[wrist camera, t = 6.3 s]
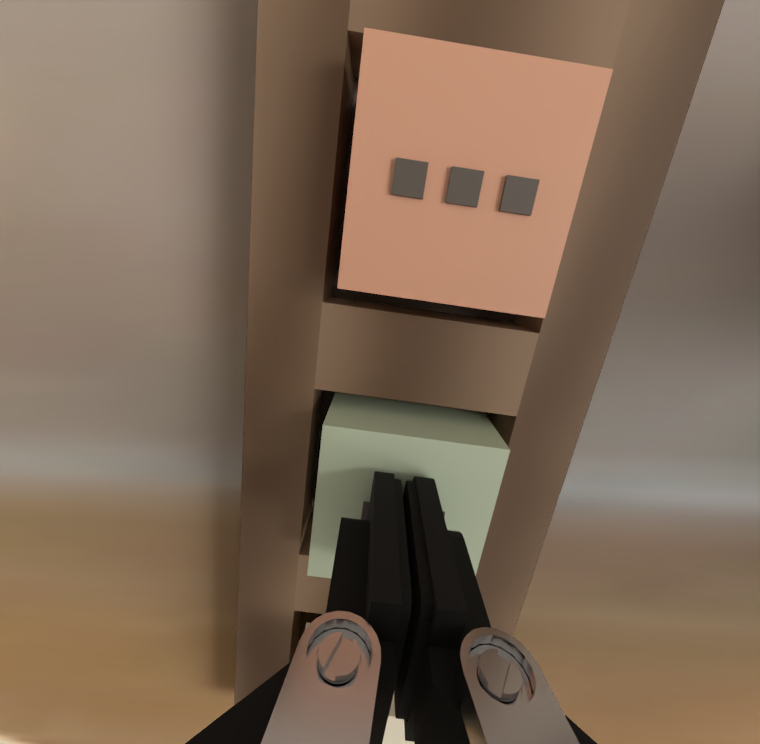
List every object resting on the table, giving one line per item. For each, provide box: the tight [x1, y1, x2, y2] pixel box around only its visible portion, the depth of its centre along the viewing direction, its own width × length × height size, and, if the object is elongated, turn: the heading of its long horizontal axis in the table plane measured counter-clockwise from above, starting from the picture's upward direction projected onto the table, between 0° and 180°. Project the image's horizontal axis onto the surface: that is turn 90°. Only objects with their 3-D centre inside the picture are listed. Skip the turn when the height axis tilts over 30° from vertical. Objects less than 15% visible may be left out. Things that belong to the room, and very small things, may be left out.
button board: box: [234, 0, 725, 705], centre depth 12 cm, size 10×27×2 cm, turn 172°
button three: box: [337, 27, 613, 318], centre depth 9 cm, size 5×5×3 cm
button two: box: [307, 392, 510, 578], centre depth 11 cm, size 5×5×3 cm
